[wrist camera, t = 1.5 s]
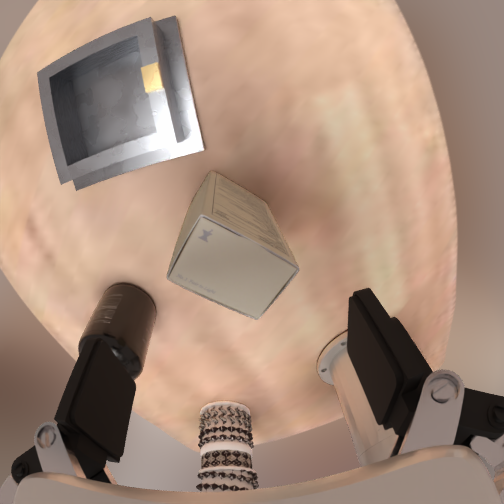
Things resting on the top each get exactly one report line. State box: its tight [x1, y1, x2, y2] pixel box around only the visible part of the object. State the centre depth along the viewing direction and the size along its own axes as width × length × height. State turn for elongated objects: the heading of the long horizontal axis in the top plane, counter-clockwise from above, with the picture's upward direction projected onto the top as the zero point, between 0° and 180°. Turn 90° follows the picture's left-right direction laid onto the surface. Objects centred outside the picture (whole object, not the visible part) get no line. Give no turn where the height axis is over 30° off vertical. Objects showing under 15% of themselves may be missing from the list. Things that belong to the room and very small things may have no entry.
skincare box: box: [167, 171, 299, 320], centre depth 20 cm, size 6×4×12 cm
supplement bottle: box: [78, 284, 156, 380], centre depth 24 cm, size 7×7×12 cm
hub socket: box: [37, 16, 205, 191], centre depth 18 cm, size 13×13×6 cm
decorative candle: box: [196, 401, 259, 492], centre depth 30 cm, size 9×9×25 cm
